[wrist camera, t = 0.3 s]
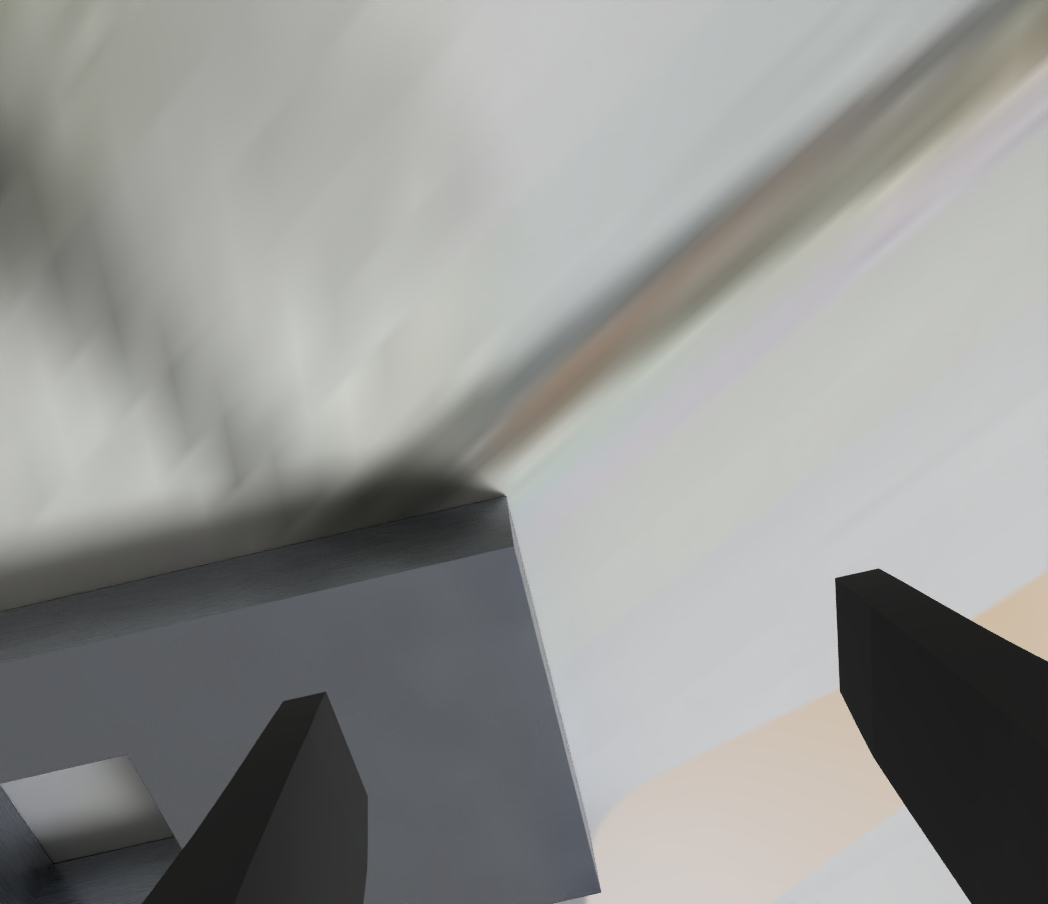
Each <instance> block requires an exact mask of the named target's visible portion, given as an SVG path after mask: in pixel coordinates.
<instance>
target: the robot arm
mask: <svg viewBox="0 0 1048 904" xmlns="http://www.w3.org/2000/svg"><path fill="white" fill-rule="evenodd" d="M835 584H836V608H837V631H838V655H839V679H840V692H841V694H842V696H843V698H844V700H845V702H846V704H847V706H848V708H849V710H850V712H851V714H852V716H853V718H854V720H855V722H856V725H857V726H858V728H859V730H860V732H861V734H862V736H863V738H864V740H865V742H866V744H867V745H868V748H869V749H870V751H871V753H872V755H873V757H874V758H875V760H876V762H877V763H878V765H879V766H880V768H881V769H882V771H883V772H884V774H885V775H886V777H887V778H888V780H889V782H890V783H891V785H892V786H893V787H894V789H895V790H896V792H897V794H898V795H899V797H900V798H901V799H902V801H903V803H904V804H905V806H906V807H907V809H908V810H909V812H910V813H911V815H912V816H913V818H914V819H915V821H916V822H917V823H918V825H919V826H920V828H921V829H922V831H923V832H924V834H925V835H926V837H927V838H928V840H929V841H930V843H931V844H932V846H933V847H934V849H935V850H936V852H937V853H938V855H939V856H940V858H941V859H942V861H943V862H944V863H945V865H946V866H947V868H948V869H949V871H950V872H951V874H952V875H953V877H954V878H955V880H956V881H957V883H958V884H959V886H960V887H961V889H962V890H963V892H964V893H965V895H966V896H967V898H968V899H969V901H970V902H971V904H1048V662H1047V661H1046V660H1044V659H1042V658H1040V657H1038V656H1035V655H1034V654H1032V653H1030V652H1028V651H1026V650H1024V649H1022V648H1020V647H1019V646H1017V645H1015V644H1013V643H1011V642H1009V641H1007V640H1005V639H1004V638H1002V637H1000V636H998V635H996V634H994V633H992V632H990V631H989V630H987V629H985V628H983V627H982V626H980V625H978V624H976V623H974V622H973V621H971V620H969V619H967V618H965V617H964V616H962V615H960V614H958V613H957V612H955V611H953V610H951V609H950V608H948V607H946V606H944V605H942V604H941V603H939V602H937V601H935V600H934V599H932V598H930V597H928V596H927V595H925V594H923V593H922V592H920V591H918V590H916V589H915V588H913V587H911V586H909V585H908V584H906V583H904V582H902V581H900V580H899V579H897V578H895V577H893V576H891V575H890V574H888V573H886V572H884V571H882V570H880V569H874V570H870V571H865V572H861V573H856V574H852V575H848V576H843V577H839V578H835ZM367 860H368V795H367V793H366V790H365V788H364V785H363V783H362V780H361V778H360V775H359V773H358V770H357V768H356V765H355V763H354V760H353V758H352V755H351V753H350V750H349V748H348V745H347V743H346V740H345V738H344V735H343V733H342V730H341V728H340V725H339V723H338V720H337V717H336V715H335V712H334V710H333V707H332V705H331V702H330V700H329V697H328V695H327V692H322V693H317V694H313V695H308V696H304V697H299V698H295V699H290V700H286V701H283V702H282V704H281V705H280V707H279V708H278V710H277V711H276V713H275V714H274V716H273V717H272V718H271V720H270V721H269V723H268V724H267V726H266V727H265V729H264V730H263V732H262V733H261V735H260V736H259V738H258V739H257V741H256V743H255V744H254V746H253V747H252V749H251V750H250V752H249V753H248V755H247V756H246V758H245V759H244V761H243V762H242V764H241V765H240V767H239V768H238V770H237V771H236V773H235V774H234V776H233V777H232V779H231V780H230V782H229V783H228V785H227V786H226V788H225V789H224V791H223V792H222V794H221V795H220V797H219V798H218V800H217V801H216V802H215V804H214V805H213V807H212V808H211V810H210V811H209V813H208V814H207V816H206V817H205V818H204V820H203V821H202V823H201V824H200V826H199V827H198V829H197V830H196V832H195V833H194V834H193V836H192V837H191V839H190V840H189V841H188V843H187V844H186V845H185V847H184V848H183V849H182V851H181V852H180V853H179V855H178V856H177V857H176V859H175V860H174V861H173V863H172V864H171V865H170V867H169V868H168V869H167V871H166V872H165V873H164V875H163V876H162V877H161V879H160V880H159V881H158V883H157V884H156V885H155V887H154V888H153V889H152V891H151V892H150V893H149V895H148V896H147V897H146V899H145V900H144V901H143V903H142V904H363V902H364V894H365V886H366V877H367Z"/></svg>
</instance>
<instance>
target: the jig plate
mask: <svg viewBox="0 0 1048 904" xmlns="http://www.w3.org/2000/svg"><path fill="white" fill-rule="evenodd" d="M322 692H327V695H328V697H329V700H330V702H331V705H332V707H333V710H334V712H335V715H336V717H337V720H338V723H339V725H340V728H341V730H342V733H343V735H344V738H345V740H346V743H347V745H348V748H349V750H350V753H351V755H352V758H353V760H354V763H355V765H356V768H357V770H358V773H359V775H360V778H361V780H362V783H363V785H364V788H365V790H366V793H367V795H368V860H367V877H366V886H365V894H364V902H363V904H553V903H557V902H561V901H566V900H570V899H575V898H579V897H584V896H588V895H592V894H597V893H601V889H600V884H599V879H598V874H597V869H596V863H595V858H594V853H593V848H592V843H591V838H590V833H589V828H588V823H587V819H586V815H585V811H584V807H583V803H582V799H581V795H580V791H579V787H578V783H577V779H576V775H575V771H574V767H573V763H572V758H571V754H570V750H569V746H568V742H567V738H566V734H565V730H564V726H563V722H562V718H561V714H560V710H559V706H558V702H557V698H556V694H555V690H554V686H553V682H552V678H551V674H550V670H549V666H548V662H547V658H546V654H545V650H544V646H543V642H542V638H541V634H540V630H539V626H538V622H537V618H536V614H535V610H534V606H533V602H532V598H531V594H530V590H529V586H528V582H527V578H526V574H525V570H524V566H523V562H522V558H521V554H520V550H519V546H518V542H517V538H516V534H515V530H514V526H513V522H512V518H511V514H510V510H509V506H508V502H507V498H506V496H504V497H500V498H495V499H491V500H486V501H482V502H478V503H473V504H469V505H465V506H460V507H456V508H452V509H447V510H443V511H438V512H434V513H430V514H425V515H421V516H417V517H412V518H408V519H404V520H399V521H395V522H391V523H386V524H382V525H377V526H373V527H369V528H364V529H360V530H356V531H351V532H347V533H343V534H338V535H334V536H330V537H325V538H321V539H316V540H312V541H308V542H303V543H299V544H295V545H290V546H286V547H282V548H277V549H273V550H268V551H264V552H260V553H255V554H251V555H247V556H242V557H238V558H234V559H229V560H225V561H221V562H216V563H212V564H207V565H203V566H199V567H194V568H190V569H186V570H181V571H177V572H173V573H168V574H164V575H159V576H155V577H151V578H146V579H142V580H138V581H133V582H129V583H125V584H120V585H116V586H112V587H107V588H103V589H98V590H94V591H90V592H85V593H81V594H77V595H72V596H68V597H64V598H59V599H55V600H50V601H46V602H42V603H37V604H33V605H29V606H24V607H20V608H16V609H11V610H7V611H3V612H0V783H5V782H9V781H14V780H18V779H22V778H27V777H31V776H35V775H40V774H44V773H49V772H53V771H57V770H62V769H66V768H71V767H75V766H79V765H84V764H88V763H92V762H97V761H101V760H106V759H110V758H114V757H119V756H123V755H127V754H128V756H129V758H130V760H131V761H132V763H133V765H134V766H135V768H136V770H137V772H138V773H139V775H140V777H141V779H142V780H143V782H144V784H145V786H146V787H147V789H148V791H149V793H150V794H151V796H152V798H153V800H154V801H155V803H156V805H157V807H158V808H159V810H160V812H161V814H162V815H163V817H164V819H165V820H166V822H167V824H168V826H169V827H170V829H171V831H172V833H173V834H174V836H175V837H172V838H168V839H163V840H159V841H154V842H150V843H146V844H141V845H137V846H132V847H128V848H124V849H119V850H115V851H111V852H106V853H102V854H97V855H93V856H89V857H84V858H80V859H75V860H71V861H67V862H62V863H58V864H53V863H52V861H51V860H50V858H49V857H48V855H47V854H46V853H45V851H44V850H43V848H42V847H41V845H40V844H39V842H38V841H37V839H36V838H35V836H34V835H33V833H32V832H31V831H30V829H29V828H28V826H27V825H26V823H25V822H24V820H23V819H22V817H21V816H20V814H19V813H18V812H17V810H16V809H15V807H14V806H13V804H12V803H11V801H10V800H9V798H8V797H7V795H6V794H5V793H4V791H3V790H2V788H1V787H0V904H142V903H143V901H144V900H145V899H146V897H147V896H148V895H149V893H150V892H151V891H152V889H153V888H154V887H155V885H156V884H157V883H158V881H159V880H160V879H161V877H162V876H163V875H164V873H165V872H166V871H167V869H168V868H169V867H170V865H171V864H172V863H173V861H174V860H175V859H176V857H177V856H178V855H179V853H180V852H181V851H182V849H183V848H184V847H185V845H186V844H187V843H188V841H189V840H190V839H191V837H192V836H193V834H194V833H195V832H196V830H197V829H198V827H199V826H200V824H201V823H202V821H203V820H204V818H205V817H206V816H207V814H208V813H209V811H210V810H211V808H212V807H213V805H214V804H215V802H216V801H217V800H218V798H219V797H220V795H221V794H222V792H223V791H224V789H225V788H226V786H227V785H228V783H229V782H230V780H231V779H232V777H233V776H234V774H235V773H236V771H237V770H238V768H239V767H240V765H241V764H242V762H243V761H244V759H245V758H246V756H247V755H248V753H249V752H250V750H251V749H252V747H253V746H254V744H255V743H256V741H257V739H258V738H259V736H260V735H261V733H262V732H263V730H264V729H265V727H266V726H267V724H268V723H269V721H270V720H271V718H272V717H273V716H274V714H275V713H276V711H277V710H278V708H279V707H280V705H281V704H282V702H283V701H286V700H290V699H295V698H299V697H304V696H308V695H313V694H317V693H322Z"/></svg>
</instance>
